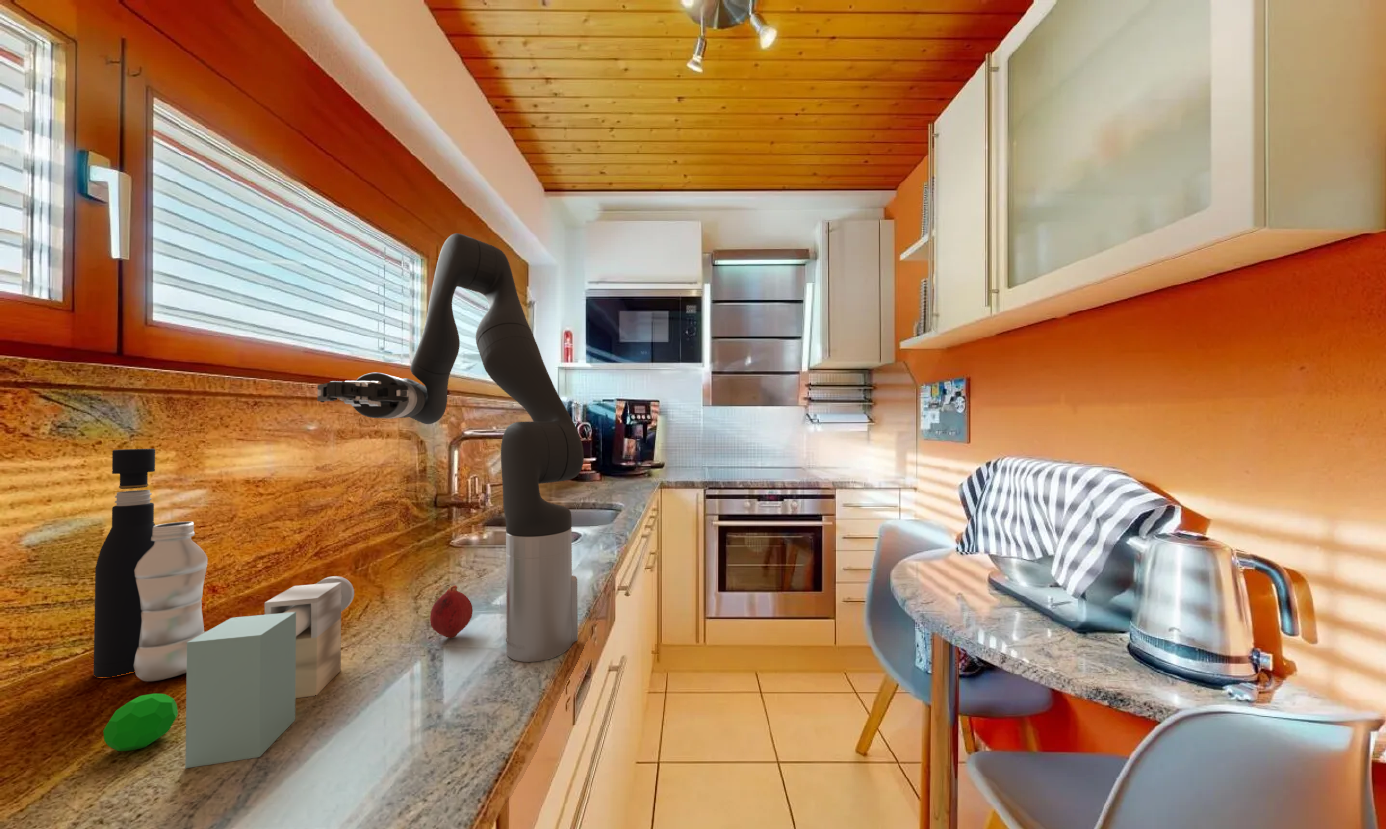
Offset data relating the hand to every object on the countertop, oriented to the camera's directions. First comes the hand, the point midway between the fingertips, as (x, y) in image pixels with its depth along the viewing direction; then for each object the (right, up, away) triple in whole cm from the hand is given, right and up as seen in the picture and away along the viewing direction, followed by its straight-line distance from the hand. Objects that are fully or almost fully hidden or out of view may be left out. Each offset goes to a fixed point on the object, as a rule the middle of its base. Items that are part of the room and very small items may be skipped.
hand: (335, 389), depth 64 cm
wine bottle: (-29, -39, +1) cm, 48 cm away
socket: (+2, -38, -15) cm, 41 cm away
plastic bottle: (-20, -38, -2) cm, 44 cm away
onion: (+12, -38, +8) cm, 41 cm away
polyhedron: (-8, -38, -16) cm, 42 cm away
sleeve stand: (0, -38, -5) cm, 38 cm away
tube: (0, -31, -7) cm, 32 cm away
